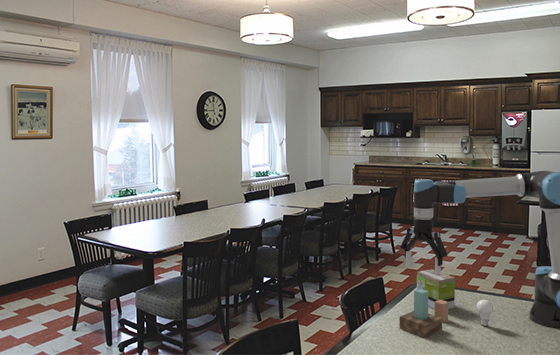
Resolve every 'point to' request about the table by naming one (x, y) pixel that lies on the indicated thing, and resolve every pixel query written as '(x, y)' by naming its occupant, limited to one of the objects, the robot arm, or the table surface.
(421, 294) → the long peg
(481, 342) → the table surface
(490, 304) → the lightbulb
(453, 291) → the tea box
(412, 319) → the socket block
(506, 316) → the table surface
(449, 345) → the table surface
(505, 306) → the table surface
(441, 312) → the short peg
